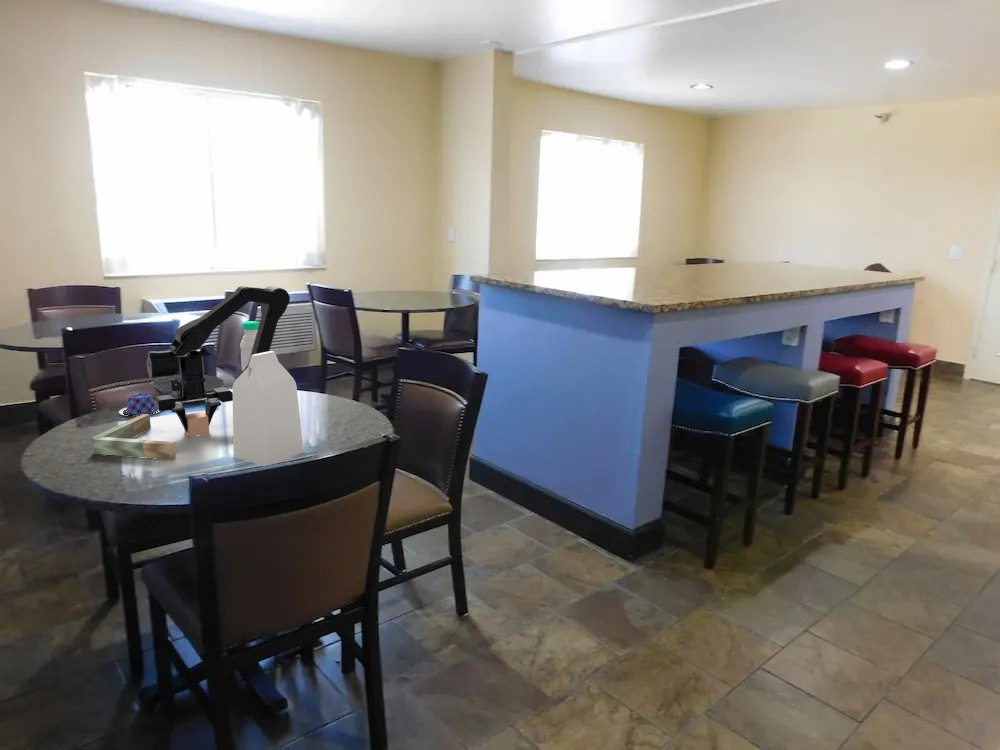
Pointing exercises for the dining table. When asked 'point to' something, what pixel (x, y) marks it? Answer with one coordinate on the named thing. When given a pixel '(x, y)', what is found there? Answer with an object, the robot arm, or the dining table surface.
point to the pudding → (140, 404)
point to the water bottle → (248, 341)
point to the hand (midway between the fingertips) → (196, 429)
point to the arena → (132, 441)
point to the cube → (197, 424)
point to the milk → (266, 412)
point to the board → (163, 383)
